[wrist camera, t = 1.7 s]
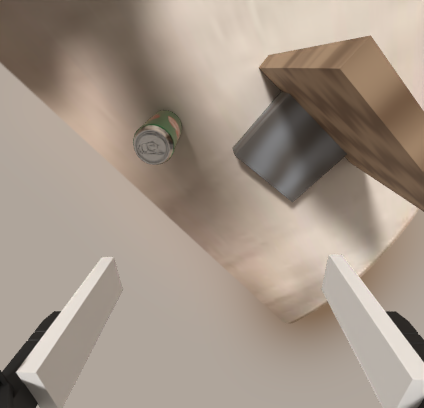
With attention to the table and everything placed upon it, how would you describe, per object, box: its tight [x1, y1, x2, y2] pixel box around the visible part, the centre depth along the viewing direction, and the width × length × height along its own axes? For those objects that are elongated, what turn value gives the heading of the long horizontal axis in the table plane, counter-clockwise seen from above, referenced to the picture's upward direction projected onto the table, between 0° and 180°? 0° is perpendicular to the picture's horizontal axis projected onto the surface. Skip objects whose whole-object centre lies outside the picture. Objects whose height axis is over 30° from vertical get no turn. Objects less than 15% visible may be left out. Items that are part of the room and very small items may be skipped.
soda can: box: [133, 110, 182, 165], centre depth 33 cm, size 5×5×12 cm
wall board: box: [233, 36, 424, 211], centre depth 29 cm, size 24×14×24 cm, turn 51°
